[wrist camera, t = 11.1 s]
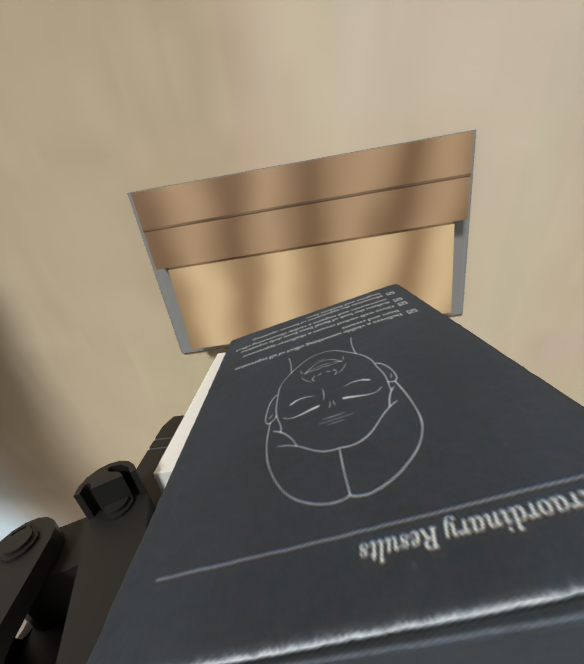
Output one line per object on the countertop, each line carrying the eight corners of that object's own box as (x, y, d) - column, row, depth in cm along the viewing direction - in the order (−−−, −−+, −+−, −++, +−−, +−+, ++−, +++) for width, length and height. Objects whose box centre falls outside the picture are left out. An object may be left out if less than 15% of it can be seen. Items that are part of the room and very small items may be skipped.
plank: (197, 343, 29) (192, 349, 27) (174, 265, 26) (167, 267, 25) (443, 307, 27) (451, 312, 26) (445, 221, 24) (454, 220, 23)
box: (275, 429, 15) (240, 827, 5) (229, 337, 13) (39, 704, 3) (424, 386, 14) (723, 785, 4) (400, 278, 12) (865, 566, 2)
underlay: (183, 352, 30) (181, 353, 29) (129, 193, 24) (127, 193, 24) (460, 312, 28) (462, 313, 28) (473, 130, 22) (476, 129, 22)
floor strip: (163, 266, 26) (155, 270, 25) (139, 194, 24) (129, 193, 22) (457, 218, 24) (468, 219, 23) (462, 135, 22) (474, 130, 21)
